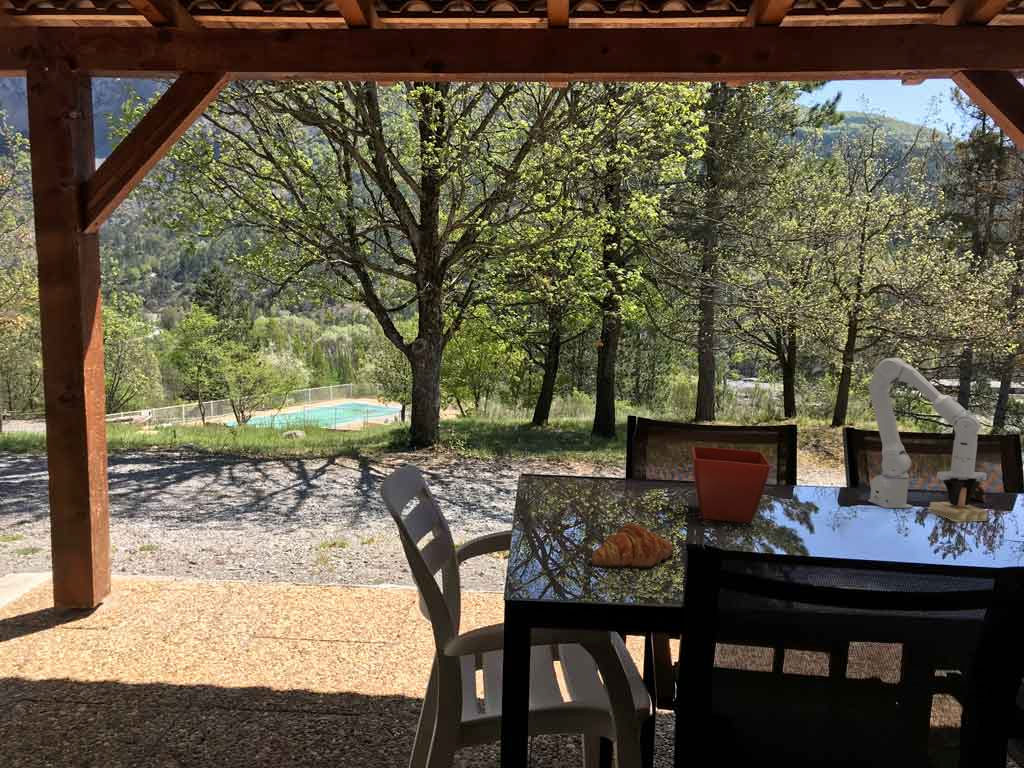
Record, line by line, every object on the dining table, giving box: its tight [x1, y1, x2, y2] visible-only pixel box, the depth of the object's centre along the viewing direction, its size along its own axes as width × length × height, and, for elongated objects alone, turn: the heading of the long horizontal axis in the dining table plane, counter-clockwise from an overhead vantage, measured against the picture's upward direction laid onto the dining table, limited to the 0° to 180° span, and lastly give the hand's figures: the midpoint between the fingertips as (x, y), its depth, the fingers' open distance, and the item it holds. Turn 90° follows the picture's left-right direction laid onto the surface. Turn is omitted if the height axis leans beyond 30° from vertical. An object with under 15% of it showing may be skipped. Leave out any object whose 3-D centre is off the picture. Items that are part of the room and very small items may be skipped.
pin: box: [953, 487, 967, 508], centre depth 213 cm, size 3×3×7 cm
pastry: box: [590, 523, 675, 569], centre depth 163 cm, size 17×15×8 cm
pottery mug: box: [958, 480, 987, 503], centre depth 236 cm, size 12×10×8 cm
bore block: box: [928, 501, 989, 523], centre depth 214 cm, size 10×10×3 cm
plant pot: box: [691, 445, 771, 524], centre depth 203 cm, size 19×19×17 cm
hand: (958, 504), depth 214 cm, fingers closed on pin, 3 cm apart
